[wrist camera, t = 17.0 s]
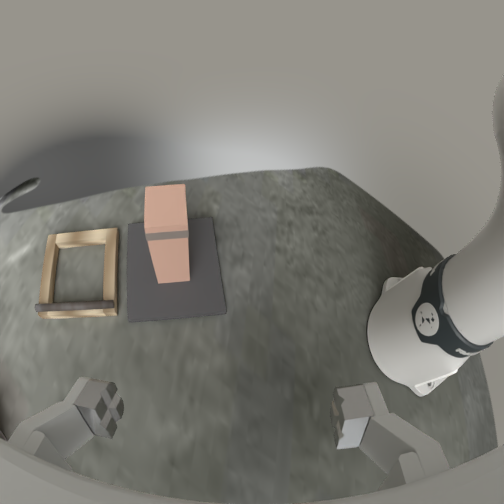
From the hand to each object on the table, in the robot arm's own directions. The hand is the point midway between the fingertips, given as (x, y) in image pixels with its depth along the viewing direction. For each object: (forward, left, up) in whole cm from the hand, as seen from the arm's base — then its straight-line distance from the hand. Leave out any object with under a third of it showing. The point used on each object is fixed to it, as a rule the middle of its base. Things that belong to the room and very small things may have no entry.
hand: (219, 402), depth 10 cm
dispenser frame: (+15, -18, -24) cm, 34 cm away
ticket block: (+2, -18, -23) cm, 29 cm away
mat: (+2, -18, -24) cm, 30 cm away
